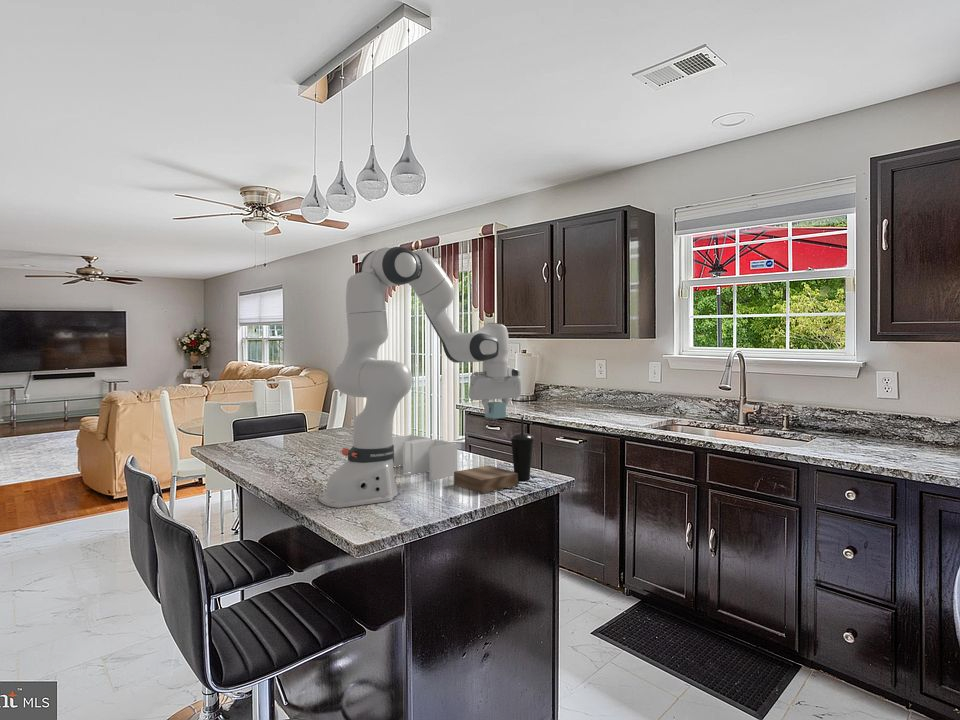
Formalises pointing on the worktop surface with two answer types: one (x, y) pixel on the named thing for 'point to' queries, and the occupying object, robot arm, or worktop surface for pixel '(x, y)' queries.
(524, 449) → the drinking cup
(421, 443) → the storage container
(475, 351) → the robot arm
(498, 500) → the worktop surface
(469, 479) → the walnut base
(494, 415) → the teal cube
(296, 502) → the worktop surface
